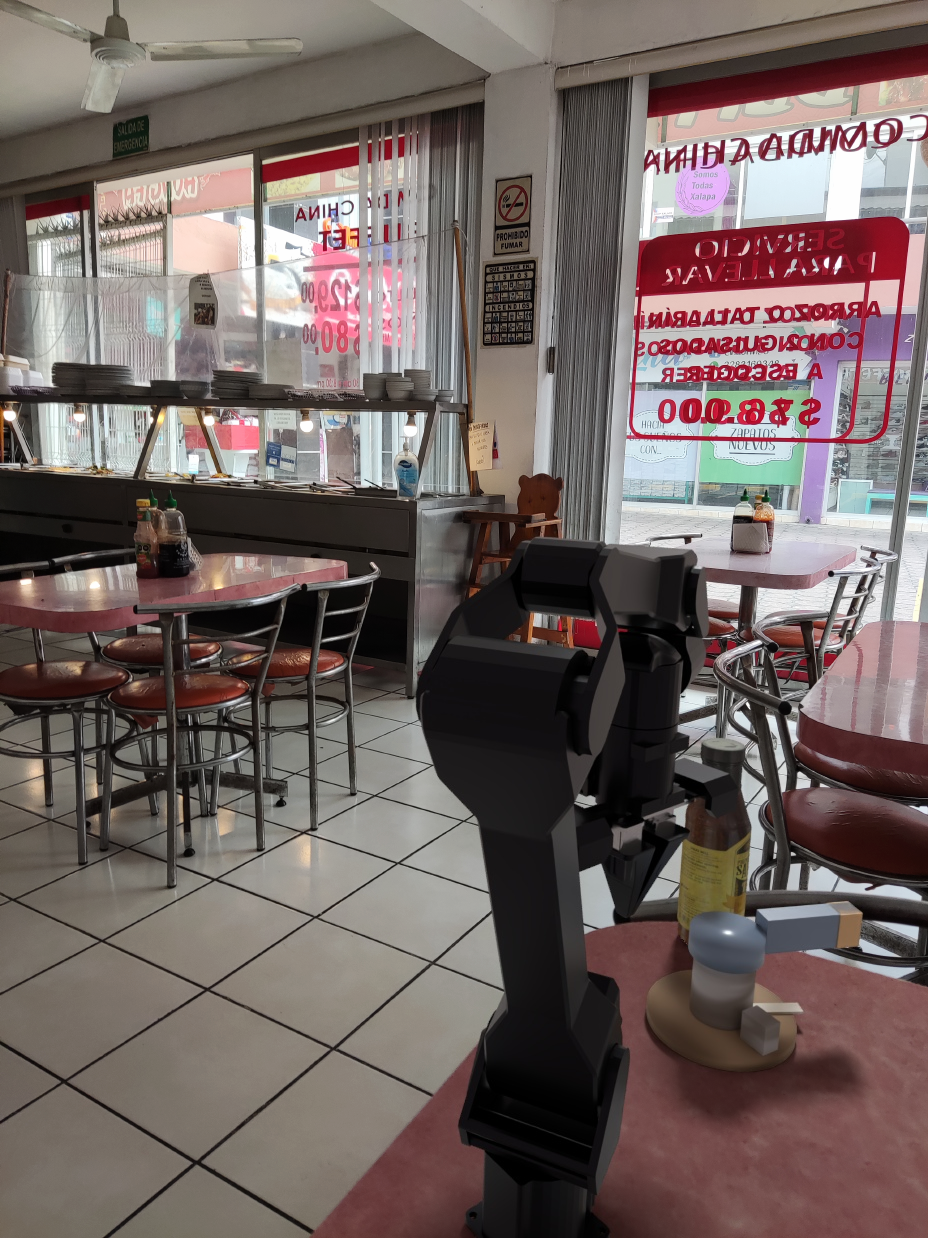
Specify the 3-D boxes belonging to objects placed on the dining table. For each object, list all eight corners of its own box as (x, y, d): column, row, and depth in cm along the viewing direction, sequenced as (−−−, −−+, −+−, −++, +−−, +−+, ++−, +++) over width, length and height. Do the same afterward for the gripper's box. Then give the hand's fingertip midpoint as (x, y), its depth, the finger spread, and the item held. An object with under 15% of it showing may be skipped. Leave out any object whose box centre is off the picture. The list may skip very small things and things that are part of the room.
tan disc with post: (738, 1094, 66) (745, 1020, 65) (616, 1012, 75) (621, 946, 74) (824, 1031, 73) (832, 963, 72) (704, 964, 82) (709, 902, 81)
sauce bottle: (744, 961, 83) (764, 760, 79) (676, 952, 84) (692, 753, 80) (738, 925, 89) (755, 736, 86) (674, 917, 91) (689, 731, 87)
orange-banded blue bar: (708, 977, 69) (711, 941, 69) (676, 936, 75) (678, 902, 75) (873, 961, 72) (878, 926, 72) (830, 922, 78) (834, 889, 77)
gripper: (637, 675, 76) (626, 844, 80) (468, 711, 65) (463, 907, 68) (750, 707, 68) (732, 895, 71) (578, 755, 57) (566, 976, 60)
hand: (624, 914), depth 68 cm, fingers closed
